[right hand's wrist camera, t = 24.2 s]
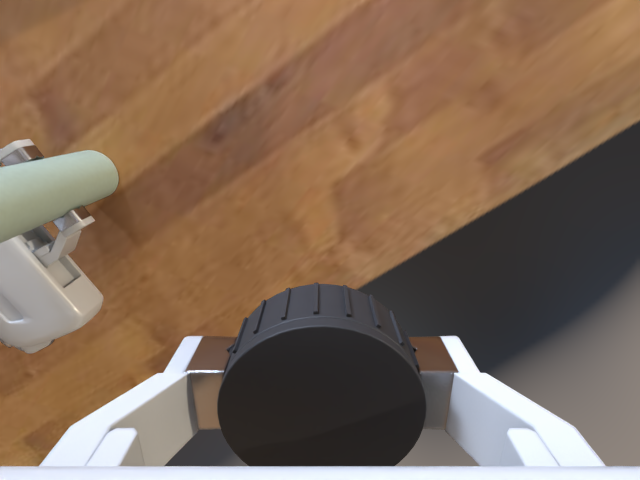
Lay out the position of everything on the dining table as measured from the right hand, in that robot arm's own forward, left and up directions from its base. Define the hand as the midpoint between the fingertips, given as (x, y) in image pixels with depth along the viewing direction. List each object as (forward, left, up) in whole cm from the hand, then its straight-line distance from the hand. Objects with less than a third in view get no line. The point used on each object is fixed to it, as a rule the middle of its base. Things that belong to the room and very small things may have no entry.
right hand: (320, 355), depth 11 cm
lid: (0, 0, +2) cm, 2 cm away
